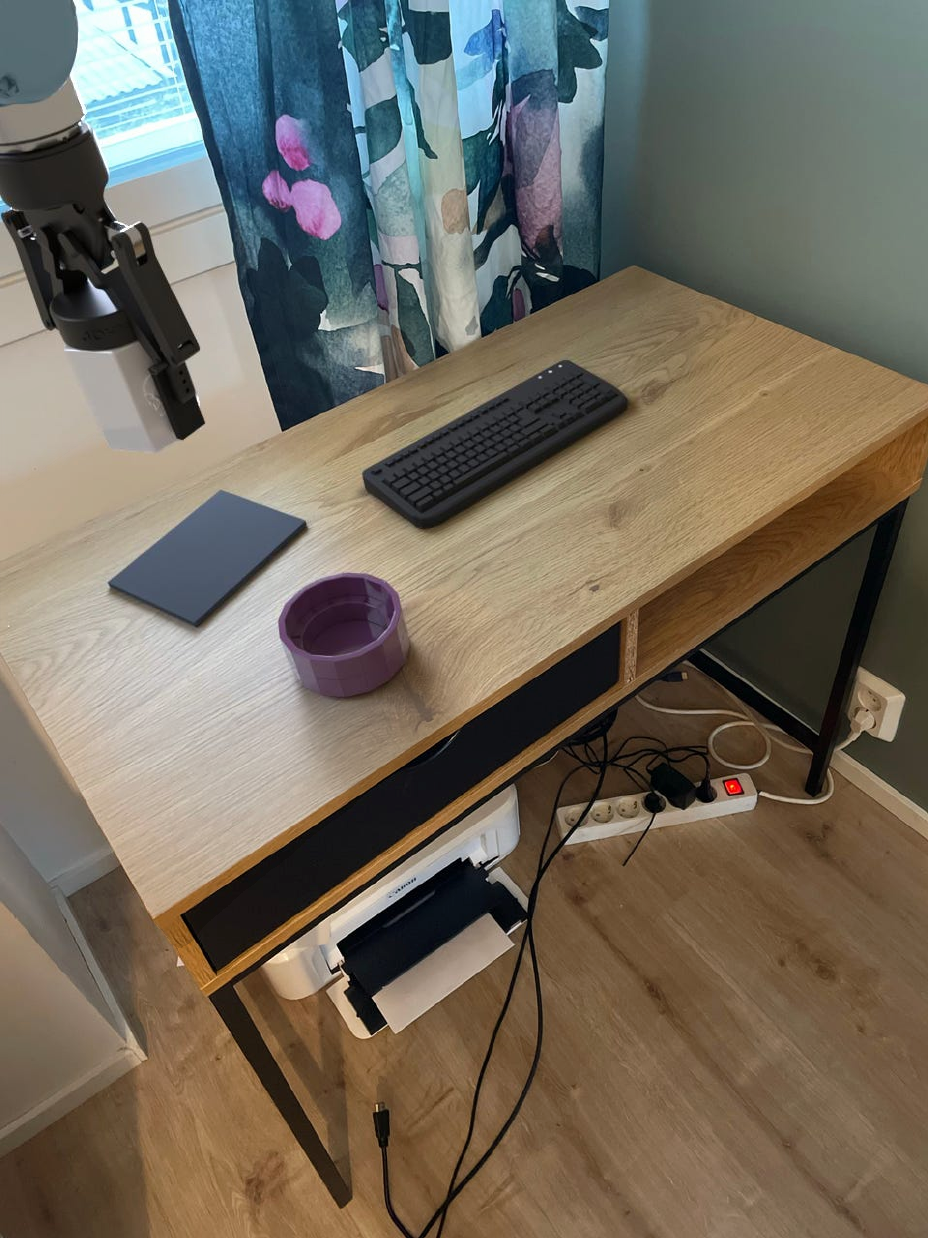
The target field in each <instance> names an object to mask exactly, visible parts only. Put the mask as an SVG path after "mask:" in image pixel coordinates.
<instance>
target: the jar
mask: <svg viewBox="0 0 928 1238" xmlns="http://www.w3.org/2000/svg"><path fill="white" fill-rule="evenodd" d="M50 313H51V315H52V317H53V320H54V322H55V324H56V326H57V328H58V330H57V331H58V333H59V332H60V333H59V335H60V337H61V339H62V342H64V345H63V352H64V355H65V357H66V359H67V361H68V364H69V365H70V368H71V370H72V372H73V374H74V376H75V378H76V380H77V382H78V385H79V386H80V389H81V391H82V393H83V395H84V397H85V399H86V402H87V403H88V406H89V408H90V410H91V412H92V415H93V417H94V418H95V421H96V423H97V425H98V427H99V429H100V431H101V435H102V436H103V438H104V440H105V442H106V444H107V446H108V448H109V449H110V450H113V451H125V452H133V453H134V452H135V453H136V452H137V453H145V454H158V453H160V452H162V451H164V450H165V449H167V448H169V447H171V446H173V445H174V444H177V443H178V442H180V441H181V440H179V439H177V438H176V436H175V434H174V431H173V429H172V426H171V424H170V421H169V419H168V416H167V414H166V411H165V409H164V406H163V404H162V401H161V399H160V396H159V394H158V391H157V389H156V386H155V384H154V381H153V379H152V376H151V374H150V372H149V371H148V368H150V367H151V366H153V365H154V363H153V362H152V360H151V359H150V357H149V356H148V354H147V353H146V351H145V350H144V348H143V347H142V345H141V344H140V343H139V341H138V340H137V338H136V337H135V335H134V334H133V332H132V330H131V328H130V325H129V323H128V320H127V318H126V315H125V313H124V311H123V310H121V309H117V308H116V307H115V306H114V305H113V303H112V302H111V300H110V299H109V297H108V296H107V294H106V293H105V292H104V291H103V290H100V289H97V288H95V287H94V286H93V285H92V283H91V282H90V280H89V279H88V281H87V282H85V283H83V284H81V285H80V286H78V287H76V288H74V289H73V290H71V291H69V292H67V293H66V294H61V293H58V294H57V295H56V296H55V297H54V299H53V300H52V302H51V304H50ZM160 349H161V348H160ZM161 351H162V349H161ZM185 363H186V366H187V369H188V371H189V368H188V364H187V362H186V361H185ZM189 374H190V377H191V380H192V382H193V383H192V384H193V385H194V388H195V396H196V399H197V402H198V404H199V407H200V408H201V400H200V398H199V395H198V392H197V390H196V387H195V384H194V381H193V379H192V376H191V373H190V371H189ZM202 427H203V426H201V427H200V428H199V429H197V430H196V431H195V432H193V433H192V434H191V435H193V434H195V433H197V432H198V431H200V430H201V429H202Z"/></svg>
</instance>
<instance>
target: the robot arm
mask: <svg viewBox="0 0 928 1238" xmlns="http://www.w3.org/2000/svg"><path fill="white" fill-rule="evenodd" d="M79 45H80V26H79V20H78V15H77V6H76V4H75V2H74V0H0V198H1V201H2V202H3V203H4V204H5V205H6V206H7V207H9V209H7V210H5V211H3V212H1V213H0V219H1V221H2V223H3V224H4V226H5V228H6V230H7V232H8V233H9V235H10V237H11V239H12V240H13V243H14V245H15V247H16V251H17V254H18V257H19V259H20V262H21V265H22V268H23V272H24V273H25V276H26V279H27V283H28V285H29V288H30V292H31V294H32V297H33V299H34V302H35V306H36V308H37V312H38V314H39V317H40V319H41V320H40V321H41V322H42V324H43V326H44V328H45V329H47V330H48V331H51V332H52V331H54V330H57V331H58V333H59V334H60V332H59V330H58V328H57V326H56V324H55V322H54V320H53V317H52V315H51V313H50V304H51V302H52V300H53V299H54V297H55V296H56V295H57V294H58V293H61V294H66V293H67V292H69V291H71V290H73V289H74V288H76V287H78V286H80V285H81V284H83V283H85V282H87V281H88V279H89V280H90V282H91V283H92V285H93V286H94V287H95V288H97V289H100V290H103V291H104V292H105V293H106V294H107V296H108V297H109V299H110V300H111V302H112V303H113V305H114V306H115V307H116V308H117V309H121V310H123V311H124V313H125V315H126V318H127V320H128V323H129V325H130V328H131V330H132V332H133V334H134V335H135V337H136V338H137V340H138V341H139V343H140V344H141V345H142V347H143V348H144V350H145V351H146V353H147V354H148V356H149V357H150V359H151V360H152V362H153V363H154V365H153V366H151V367H150V368H148V371H149V372H150V374H151V376H152V379H153V381H154V384H155V386H156V389H157V391H158V394H159V396H160V399H161V401H162V404H163V406H164V409H165V411H166V414H167V416H168V419H169V421H170V424H171V426H172V429H173V431H174V434H175V436H176V438H177V439H179V440H180V441H184V440H185V439H187V438H188V437H190V436H191V435H193V434H194V433H193V432H195V431H196V430H197V429H199V428H200V427H201V426H202V427H203V426H204V425H205V424H206V421H205V418H204V416H203V412H202V409H201V406H200V407H199V404H198V402H197V399H196V396H195V389H196V387H195V384H194V381H193V379H192V380H191V378H192V376H191V373H190V371H188V370H189V368H188V369H187V367H188V365H187V362H186V361H188V360H189V359H191V358H192V357H194V356H195V355H197V354H198V353H200V351H201V345H200V343H199V341H198V339H197V338H196V335H195V333H194V331H193V329H192V327H191V326H190V323H189V321H188V319H187V317H186V315H185V313H184V311H183V308H182V307H181V304H180V303H179V300H178V298H177V296H176V294H175V292H174V290H173V289H172V286H171V284H170V282H169V280H168V278H167V276H166V274H165V272H164V270H163V268H162V266H161V264H160V262H159V259H158V258H157V256H156V252H155V248H154V244H153V241H152V237H151V233H150V231H149V228H148V227H147V225H145V223H144V222H143V221H138V222H136V223H134V224H132V225H130V226H128V225H127V224H124V223H122V222H118V219H117V217H116V216H115V214H114V213H113V211H112V210H111V208H110V206H109V205H108V204H107V201H106V199H105V196H104V195H105V189H106V188H107V187H106V186H107V185H108V183H109V181H110V176H111V175H110V170H109V167H108V164H107V162H106V159H105V156H104V154H103V151H102V148H101V145H100V143H99V140H98V137H97V135H96V132H95V129H94V128H93V127H92V126H91V125H89V123H87V122H85V121H84V119H85V116H86V114H87V110H86V106H85V105H84V102H83V99H82V97H81V94H80V91H79V89H78V86H77V84H76V81H75V78H74V76H73V70H74V67H75V65H76V63H77V57H78V53H79ZM116 261H117V264H118V265H117V266H116V267H114V268H113V269H110V270H108V271H107V272H102V271H104V270H106V269H107V268H109V267H111V266H113V265H114V263H115V262H116ZM160 348H161V349H162V351H161V349H160ZM185 362H186V363H185ZM186 365H187V366H186ZM189 373H190V374H189ZM190 376H191V377H190ZM192 381H193V382H192ZM192 383H193V384H194V385H193V384H192ZM194 387H195V388H194ZM202 427H201V428H202ZM192 433H193V434H192ZM195 433H196V432H195Z"/></svg>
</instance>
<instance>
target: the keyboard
mask: <svg viewBox="0 0 928 1238" xmlns="http://www.w3.org/2000/svg"><path fill="white" fill-rule="evenodd" d="M628 407H629V400H628V398H627V397H626V395H625V394H624V393H623V392H622V391H621V390H620V389H619V388H617V387H616V386H615V385H613V384H612V383H610V382H608V381H606V380H605V379H603V378H601V377H599V376H597V375H595V374H594V373H592V372H590V371H589V370H587V369H586V368H584V367H582V366H580V365H578V364H576V363H575V362H574V361H572V360H570V359H562V360H560V361H558V362H556V363H554V364H553V365H551V366H549V367H547V368H545V369H543V370H541V371H540V372H537V373H536V374H534V375H533V376H531V377H528V378H527V379H525V380H524V381H522V382H520V383H518V384H516V385H515V386H513V387H511V388H509V389H508V390H505V391H504V392H502V393H500V394H499V395H497V396H495V397H493V398H490V399H489V400H487V401H485V402H484V403H482V404H480V405H479V406H477V407H475V408H473V409H472V410H469V411H467V412H466V413H464V414H462V415H461V416H459V417H457V418H455V419H453V420H452V421H450V422H448V423H446V424H444V425H443V426H441V427H439V428H437V429H435V430H434V431H431V432H430V433H429V434H426V435H425V436H423V437H421V438H419V439H417V440H416V441H414V442H412V443H410V444H409V445H406V446H405V447H403V448H401V449H400V450H398V451H395V452H394V453H393V454H391V455H388V456H386V457H385V458H383V459H382V460H380V461H378V462H376V463H374V464H372V465H370V466H369V467H367V468H365V469H364V470H363V471H362V473H361V476H362V477H361V478H362V481H363V485H364V489H365V490H366V491H367V492H368V493H370V494H371V495H372V496H374V497H375V498H377V499H378V500H379V501H381V502H382V503H383V504H385V505H386V506H388V507H389V508H390V509H392V510H393V511H394V512H396V513H397V514H398V515H399V516H401V517H402V518H404V519H405V520H406V521H408V522H409V523H411V524H412V525H413V526H414V527H416V528H419V529H422V530H423V529H431V528H434V527H437V526H439V525H441V524H443V523H444V522H447V521H448V520H450V519H452V518H453V517H455V516H456V515H458V514H460V513H462V512H463V511H465V510H466V509H468V508H469V507H471V506H473V505H474V504H476V503H478V502H479V501H481V500H483V499H484V498H486V497H487V496H489V495H491V494H492V493H494V492H496V491H497V490H500V488H502V487H504V486H505V485H507V484H509V483H510V482H512V481H514V480H516V479H517V478H519V477H520V476H522V475H524V474H525V473H527V472H529V471H530V470H532V469H533V468H535V467H537V466H538V465H540V464H542V463H543V462H545V461H546V460H548V459H550V458H552V457H553V456H555V455H556V454H558V453H560V452H561V451H563V450H564V449H566V448H568V447H570V446H571V445H573V444H574V443H576V442H578V441H579V440H581V439H583V438H585V437H586V436H588V435H589V434H591V433H593V432H594V431H597V430H598V429H599V428H601V427H603V426H604V425H605V424H608V423H609V422H611V421H613V420H614V419H616V418H617V417H619V416H620V415H622V414H624V412H625V411H627V410H628Z"/></svg>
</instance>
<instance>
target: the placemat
mask: <svg viewBox="0 0 928 1238" xmlns="http://www.w3.org/2000/svg"><path fill="white" fill-rule="evenodd" d="M307 524H308V523H307V521H306V520H305V519H302V518H299V517H297V516H294V515H291V514H288V513H285V512H283V511H280V510H278V509H275V508H272V507H269V506H266V505H264V504H261V503H258V502H255V501H254V500H250V499H247V498H245V497H242V496H239V495H237V494H234V493H231V492H229V491H226V490H223V489H219V490H218V491H217V492H215V493H214V494H213V495H212V496H210V497H209V498H208V499H207V500H206V501H205V502H204V503H202V504H201V505H200V506H199V507H197V508H196V509H195V510H194V511H192V512H191V513H190V514H189V515H187V516H186V517H185V518H183V519H182V520H181V521H180V522H179V523H178V524H176V525H175V526H174V527H173V528H171V530H169V531H167V533H165V535H163V536H162V537H161V538H160V539H158V540H157V541H156V542H155V543H153V544H152V545H151V546H150V547H148V548H147V549H146V550H145V551H144V552H143V553H141V554H140V555H139V556H137V557H136V558H135V559H134V560H133V561H132V562H130V563H129V564H128V565H127V566H126V567H124V568H123V569H122V570H121V571H119V572H118V573H116V575H115V576H113V577H112V578H111V579H110V580H108V582H107V584H108V587H110V588H112V589H113V590H117V591H118V592H120V593H122V594H124V595H127V596H128V597H131V598H133V599H135V600H137V601H140V602H142V603H144V604H146V605H147V606H150V607H152V608H155V609H156V610H158V611H160V612H163V613H164V614H167V615H169V616H172V617H174V618H175V619H177V620H180V621H182V622H184V623H187V624H189V625H191V626H193V627H195V628H197V627H198V626H200V625H201V624H202V623H203V622H204V621H205V620H206V619H207V618H209V616H210V615H211V614H213V613H214V612H215V611H216V610H217V609H218V608H219V607H220V606H221V605H223V604H224V602H225V601H227V600H228V599H229V598H230V597H231V596H232V595H233V594H234V593H235V592H236V591H237V590H239V589H240V588H241V587H242V586H243V585H244V584H245V583H246V582H247V581H249V579H250V578H252V577H253V575H255V574H256V573H257V572H258V571H259V570H260V569H261V568H262V567H264V566H265V565H266V564H267V563H268V562H269V561H270V560H271V559H272V558H273V557H274V556H276V555H277V553H279V552H280V550H282V549H283V548H284V547H285V546H286V545H287V544H289V542H291V541H292V540H293V539H294V538H295V537H296V536H297V535H298V534H299V533H300V532H301V531H302V530H304V529H305V527H307V526H308V525H307Z"/></svg>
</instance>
